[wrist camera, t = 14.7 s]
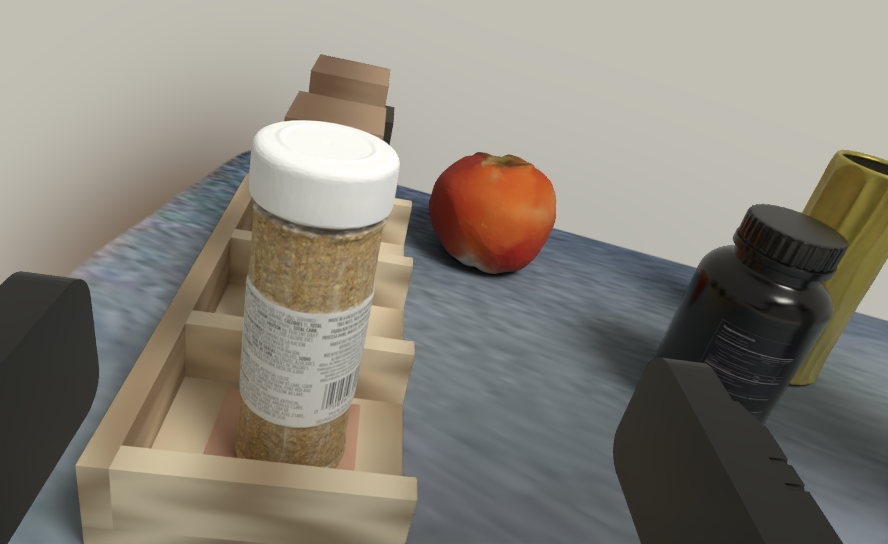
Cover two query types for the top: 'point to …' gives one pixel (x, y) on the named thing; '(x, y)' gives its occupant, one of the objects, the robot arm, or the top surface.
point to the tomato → (493, 211)
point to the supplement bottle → (758, 305)
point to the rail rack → (218, 394)
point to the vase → (849, 241)
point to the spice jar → (309, 286)
